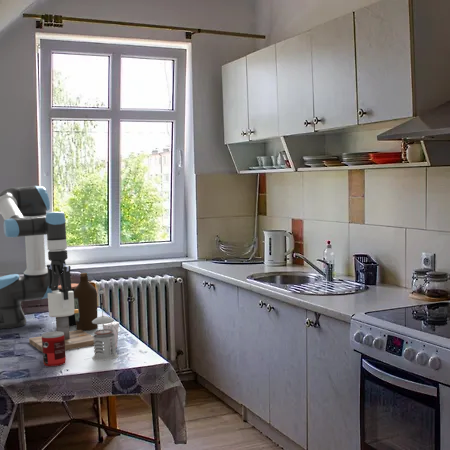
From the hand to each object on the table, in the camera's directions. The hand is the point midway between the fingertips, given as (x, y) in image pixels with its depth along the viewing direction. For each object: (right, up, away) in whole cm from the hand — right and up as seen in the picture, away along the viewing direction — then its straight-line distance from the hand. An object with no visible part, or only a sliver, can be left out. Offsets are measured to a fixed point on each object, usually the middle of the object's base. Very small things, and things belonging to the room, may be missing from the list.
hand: (61, 306), depth 264 cm
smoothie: (+22, -15, -9) cm, 28 cm away
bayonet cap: (0, -3, 0) cm, 3 cm away
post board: (+1, -15, +1) cm, 15 cm away
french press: (+23, -16, -23) cm, 36 cm away
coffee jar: (-5, -13, +39) cm, 41 cm away
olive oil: (+5, -13, +27) cm, 30 cm away
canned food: (+5, -17, -28) cm, 33 cm away
